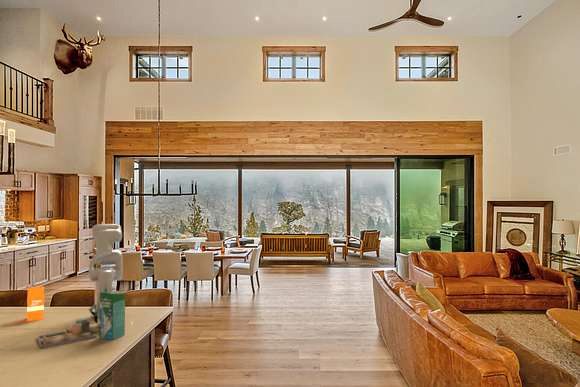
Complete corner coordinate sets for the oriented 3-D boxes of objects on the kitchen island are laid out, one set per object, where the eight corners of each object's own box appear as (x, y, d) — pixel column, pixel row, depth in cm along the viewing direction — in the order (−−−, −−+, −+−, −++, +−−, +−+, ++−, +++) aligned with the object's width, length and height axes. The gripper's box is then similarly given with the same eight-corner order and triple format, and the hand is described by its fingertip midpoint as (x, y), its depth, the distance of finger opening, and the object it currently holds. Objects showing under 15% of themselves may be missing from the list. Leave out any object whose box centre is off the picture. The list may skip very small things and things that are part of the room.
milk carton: (124, 334, 207) (125, 289, 208) (112, 340, 199) (112, 293, 200) (112, 332, 210) (112, 288, 211) (99, 338, 202) (99, 292, 203)
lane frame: (89, 328, 218) (89, 326, 218) (96, 337, 203) (96, 335, 203) (37, 338, 202) (37, 336, 202) (40, 348, 187) (40, 346, 187)
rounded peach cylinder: (80, 332, 204) (80, 322, 205) (81, 334, 201) (81, 324, 201) (71, 333, 202) (71, 324, 202) (72, 335, 198) (72, 326, 198)
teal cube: (85, 326, 214) (85, 317, 214) (87, 328, 210) (87, 319, 211) (75, 327, 211) (75, 319, 211) (77, 330, 207) (77, 321, 207)
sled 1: (87, 334, 208) (87, 319, 208) (90, 337, 202) (90, 322, 203) (42, 342, 194) (42, 327, 195) (44, 346, 189) (44, 331, 189)
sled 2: (105, 326, 222) (106, 312, 222) (108, 329, 217) (108, 315, 217) (65, 333, 209) (65, 319, 209) (67, 337, 203) (67, 322, 204)
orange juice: (43, 318, 236) (44, 287, 237) (26, 321, 231) (27, 289, 232) (43, 315, 243) (44, 285, 243) (27, 318, 238) (27, 286, 238)
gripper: (119, 288, 227) (118, 316, 227) (87, 292, 216) (86, 322, 216) (122, 290, 221) (122, 319, 221) (90, 294, 211) (89, 325, 210)
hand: (104, 320), depth 218 cm, fingers open, 8 cm apart
